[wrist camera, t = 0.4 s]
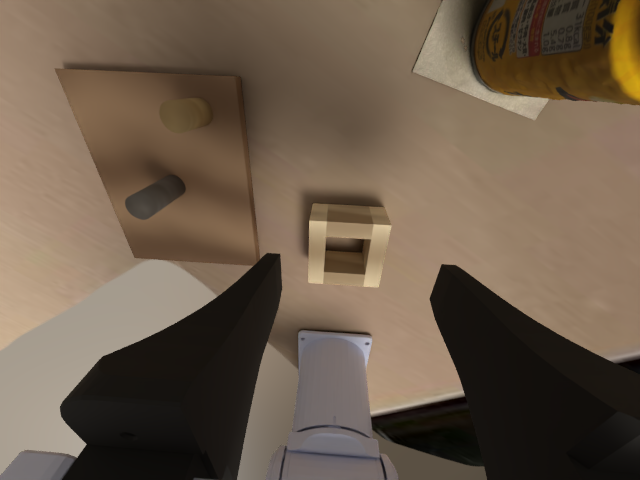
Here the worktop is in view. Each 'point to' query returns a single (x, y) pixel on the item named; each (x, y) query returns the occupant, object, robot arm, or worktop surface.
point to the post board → (171, 161)
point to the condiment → (536, 51)
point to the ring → (347, 224)
